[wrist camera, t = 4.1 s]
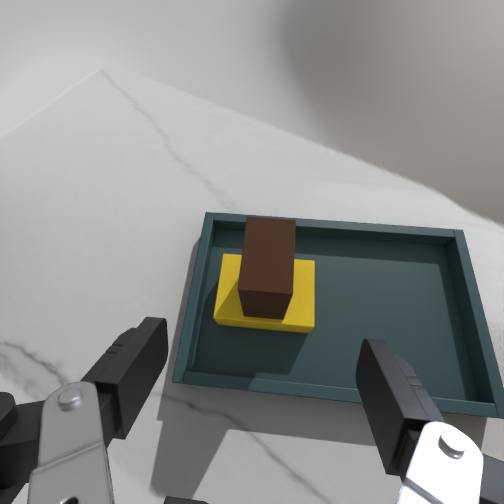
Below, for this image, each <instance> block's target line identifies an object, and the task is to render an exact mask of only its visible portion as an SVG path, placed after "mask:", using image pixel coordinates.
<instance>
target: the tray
mask: <svg viewBox="0 0 504 504" xmlns="http://www.w3.org/2000/svg"><path fill="white" fill-rule="evenodd" d="M247 216H249V217H263V218H277V219H292V220H296V228H295V256H294V259H297V260H310V261H314V262H315V276H314V328H313V329H312V330H311V331H310V332H309V333H299V332H288V331H278V330H267V329H257V328H246V327H236V326H225V325H218V324H217V322H216V321H215V319H214V317H213V316H214V310H215V304H216V297H217V291H218V284H219V278H220V272H221V265H222V259H223V254H234V255H242V249H243V241H244V233H245V225H246V217H247ZM364 338H366V339H377V340H384V341H386V343H387V344H388V346H389V348H390V350H391V351H392V353H393V354H394V355H400V356H401V357H402V358H403V359H404V360H405V361H407V362H408V363H409V364H410V365H411V366H412V368H413V369H414V371H415V373H416V374H417V376H418V379H420V381H421V382H422V384H423V385H424V388H425V389H426V390H427V392H428V393H429V395H430V397H431V398H432V400H433V402H434V403H435V405H436V406H437V408H438V410H439V411H440V412H446V413H455V414H464V415H473V416H482V417H491V418H500V419H504V388H503V384H502V380H501V376H500V373H499V369H498V365H497V361H496V357H495V353H494V349H493V345H492V341H491V337H490V334H489V330H488V326H487V322H486V318H485V314H484V310H483V306H482V302H481V298H480V294H479V291H478V287H477V283H476V279H475V275H474V271H473V267H472V263H471V259H470V255H469V252H468V248H467V244H466V240H465V236H464V232H463V230H457V229H444V228H429V227H415V226H400V225H386V224H372V223H357V222H343V221H328V220H314V219H300V218H285V217H271V216H257V215H242V214H228V213H211V212H206V213H205V218H204V223H203V228H202V233H201V238H200V243H199V248H198V253H197V258H196V263H195V268H194V273H193V278H192V283H191V288H190V293H189V298H188V303H187V308H186V313H185V318H184V323H183V328H182V333H181V338H180V343H179V348H178V353H177V358H176V363H175V368H174V373H173V378H172V382H173V383H182V384H191V385H200V386H209V387H218V388H227V389H236V390H245V391H255V392H264V393H273V394H282V395H291V396H300V397H309V398H318V399H327V400H336V401H346V402H355V403H362V400H361V397H360V394H359V391H358V388H357V385H356V367H357V362H358V358H359V353H360V349H361V344H362V341H363V339H364Z"/></svg>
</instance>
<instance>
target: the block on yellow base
mask: <svg viewBox="0 0 504 504" xmlns="http://www.w3.org/2000/svg"><path fill="white" fill-rule="evenodd" d="M295 228H296V220H292V219H277V218H263V217H249V216H247V217H246V225H245V233H244V241H243V249H242V255H234V254H223V259H222V265H221V272H220V278H219V284H218V291H217V297H216V304H215V310H214V316H213V317H214V319H215V321H216V322H217V324H218V325H225V326H236V327H246V328H257V329H267V330H278V331H288V332H299V333H309V332H310V331H311V330H312V329H313V328H314V276H315V262H314V261H310V260H297V259H294V256H295Z"/></svg>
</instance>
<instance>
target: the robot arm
mask: <svg viewBox="0 0 504 504" xmlns="http://www.w3.org/2000/svg"><path fill="white" fill-rule="evenodd" d="M167 357H168V334H167V321H166V319H165V318H156V317H146V318H145V319H144V320H143V321H142V322H141V324H140V325H139V326H138V327H137V328H131V329H129V330H127V331H126V332H124V333H123V334H121V335H120V336H119V337H118V338H117V339H116V340H115V342H114V343H113V344H112V346H110V347H109V348H108V350H107V351H106V353H104V354H103V355H102V356H101V358H100V359H99V360H98V361H97V362H96V363H95V365H94V366H93V367H92V368H91V369H90V370H89V371H88V373H87V374H86V375H85V376H84V377H83V378H82V379H81V381H80V382H74V383H70V384H67V385H65V386H63V387H61V388H59V389H57V390H56V391H54V392H53V393H52V394H51V395H50V396H49V397H48V398H47V399H46V400H44V401H38V402H32V403H25V404H19V405H16V403H15V400H14V397H13V395H11V394H10V393H7V392H0V504H11V503H12V502H13V500H14V499H15V498H16V496H17V495H18V493H19V492H20V490H21V489H22V488H23V486H24V485H25V483H29V489H28V499H27V504H115V501H114V494H113V487H112V480H111V473H110V466H109V459H108V453H107V447H108V446H109V444H110V442H111V440H112V439H113V438H116V439H124V440H125V439H126V437H127V435H128V433H129V431H130V429H131V427H132V425H133V424H134V422H135V420H136V418H137V416H138V414H139V412H140V411H141V409H142V407H143V405H144V403H145V401H146V399H147V397H148V396H149V394H150V392H151V390H152V388H153V386H154V384H155V383H156V381H157V379H158V377H159V375H160V373H161V371H162V369H163V368H164V366H165V364H166V361H167ZM356 385H357V388H358V391H359V394H360V397H361V400H362V403H363V406H364V409H365V412H366V415H367V418H368V421H369V424H370V427H371V430H372V433H373V436H374V439H375V442H376V445H377V448H378V451H379V454H380V457H381V460H382V463H383V466H384V469H385V472H386V474H389V475H396V476H400V478H401V481H402V483H403V484H402V487H401V489H400V492H399V495H398V498H397V500H396V503H395V504H504V462H503V461H501V460H498V459H495V458H493V457H490V456H487V455H485V454H483V453H481V452H480V450H479V448H478V447H477V446H476V444H475V443H474V442H473V441H472V440H471V439H470V438H469V437H468V436H467V435H465V434H464V433H463V432H461V431H460V430H458V429H457V428H455V427H453V426H451V425H448V424H447V422H446V421H445V419H444V418H443V416H442V414H441V413H440V411H439V410H438V408H437V406H436V405H435V403H434V402H433V400H432V398H431V397H430V395H429V393H428V392H427V390H426V389H425V388H424V385H423V384H422V382H421V381H420V379H418V376H417V374H416V373H415V371H414V369H413V368H412V366H411V365H410V364H409V363H408V362H407V361H405V360H404V359H403V358H402V357H401V356H400V355H394V354H393V353H392V351H391V350H390V348H389V346H388V344H387V343H386V341H384V340H377V339H366V338H364V339H363V341H362V344H361V349H360V353H359V358H358V362H357V367H356ZM164 504H208V503H206V502H204V501H198V500H191V499H183V498H176V497H169V496H166V498H165V501H164Z"/></svg>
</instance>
